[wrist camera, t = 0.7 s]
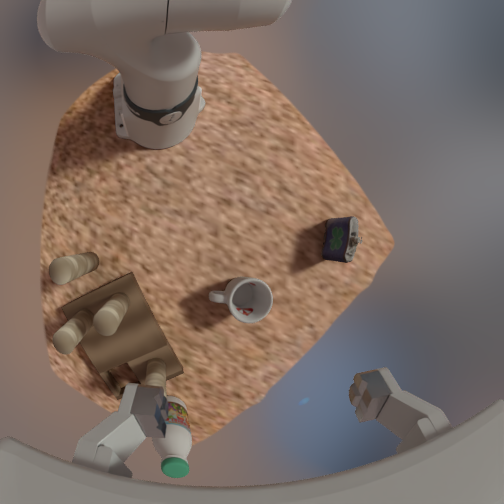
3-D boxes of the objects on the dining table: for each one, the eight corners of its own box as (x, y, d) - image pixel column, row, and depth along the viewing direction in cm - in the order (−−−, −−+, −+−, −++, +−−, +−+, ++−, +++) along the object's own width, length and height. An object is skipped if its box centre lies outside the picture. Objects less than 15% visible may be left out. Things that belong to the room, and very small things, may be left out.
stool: (66, 303, 43) (32, 328, 28) (132, 271, 47) (116, 286, 32) (119, 392, 47) (109, 438, 32) (182, 366, 51) (190, 410, 36)
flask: (326, 217, 59) (356, 214, 48) (336, 220, 60) (367, 218, 49) (319, 258, 59) (349, 263, 48) (330, 260, 60) (360, 265, 49)
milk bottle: (181, 424, 51) (191, 486, 32) (148, 415, 49) (148, 478, 30) (190, 399, 52) (204, 461, 33) (156, 390, 50) (157, 452, 30)
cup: (204, 311, 52) (210, 323, 44) (206, 270, 52) (213, 276, 44) (257, 312, 55) (271, 323, 47) (260, 273, 55) (275, 279, 47)
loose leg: (79, 256, 44) (45, 264, 29) (94, 248, 45) (64, 253, 30) (87, 273, 45) (55, 288, 29) (102, 266, 46) (74, 278, 30)
